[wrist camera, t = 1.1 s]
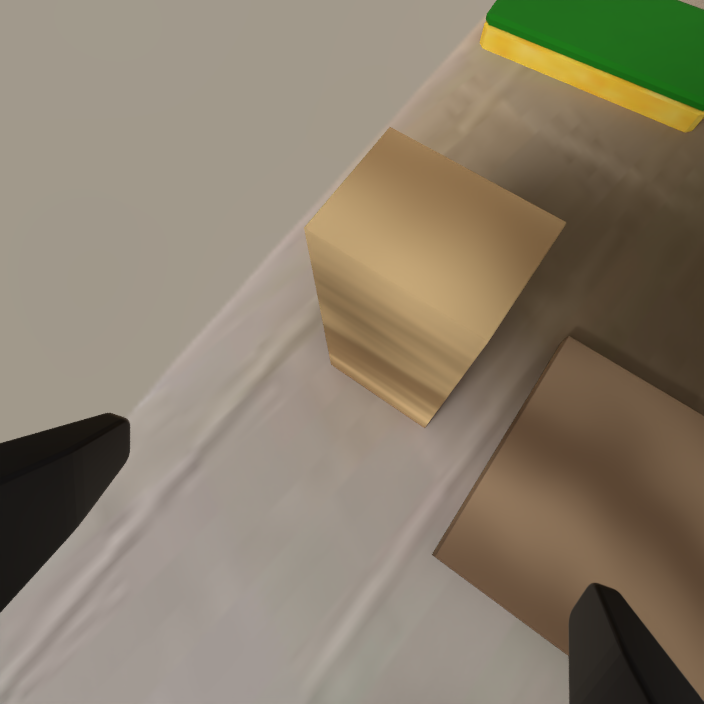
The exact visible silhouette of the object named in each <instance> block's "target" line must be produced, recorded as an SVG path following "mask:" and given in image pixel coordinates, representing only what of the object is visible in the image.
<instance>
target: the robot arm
mask: <svg viewBox="0 0 704 704" xmlns="http://www.w3.org/2000/svg"><path fill="white" fill-rule="evenodd" d="M129 453H130V423H129V421H128V419H126V418H124V417H121V416H118V415H115V414H113V413H105V414H101V415H98V416H95V417H91V418H87V419H84V420H81V421H77V422H73V423H70V424H66V425H63V426H59V427H56V428H52V429H49V430H45V431H42V432H38V433H35V434H32V435H28V436H24V437H21V438H17V439H14V440H10V441H6V442H3V443H0V612H1V611H2V610H3V609H4V608H5V607H6V606H7V605H8V604H9V603H10V601H11V600H12V599H13V598H14V597H15V596H16V595H17V594H18V593H19V592H20V590H21V589H22V588H23V587H24V586H25V585H26V584H27V583H28V582H29V580H30V579H31V578H32V577H33V576H34V575H35V574H36V573H37V572H38V571H39V569H40V568H41V567H42V566H43V565H44V564H45V563H46V562H47V561H48V560H49V558H50V557H51V556H52V555H53V554H54V553H55V552H56V551H57V550H58V549H59V547H60V546H61V545H62V544H63V543H64V542H65V541H66V540H67V539H68V537H69V536H70V535H71V534H72V533H73V532H74V531H75V529H76V528H77V527H78V526H79V525H80V523H81V522H82V521H83V519H84V518H85V517H86V516H87V514H88V513H89V512H90V510H91V509H92V508H93V506H94V505H95V503H96V502H97V501H98V499H99V498H100V497H101V495H102V494H103V493H104V491H105V490H106V489H107V487H108V486H109V485H110V483H111V482H112V481H113V479H114V478H115V477H116V475H117V474H118V472H119V471H120V470H121V468H122V467H123V466H124V464H125V463H126V461H127V459H128V457H129ZM568 629H569V704H704V700H703V699H702V698H701V697H700V695H699V694H698V693H697V691H696V690H695V689H694V688H693V686H692V685H691V684H690V682H689V681H688V680H687V679H686V677H685V676H684V675H683V673H682V672H681V671H680V670H679V668H678V667H677V666H676V664H675V663H674V662H673V661H672V659H671V658H670V657H669V655H668V654H667V653H666V652H665V650H664V649H663V648H662V646H661V645H660V644H659V643H658V641H657V640H656V639H655V637H654V636H653V635H652V634H651V632H650V631H649V630H648V628H647V627H646V626H645V624H644V623H643V622H642V621H641V619H640V618H639V617H638V615H637V614H636V613H635V612H634V610H633V609H632V608H631V606H630V605H629V604H628V603H627V601H626V600H625V599H624V597H623V596H622V595H621V594H620V593H619V592H618V591H617V590H615V589H613V588H610V587H608V586H605V585H602V584H599V583H591V584H589V585H588V587H587V588H586V589H585V591H584V592H583V594H582V595H581V597H580V598H579V600H578V601H577V603H576V604H575V606H574V607H573V609H572V611H571V613H570V616H569V624H568Z"/></svg>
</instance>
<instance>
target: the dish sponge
mask: <svg viewBox="0 0 704 704" xmlns="http://www.w3.org/2000/svg"><path fill="white" fill-rule="evenodd" d="M480 44H481V47H482V48H483V49H486V50H488V51H490V52H493V53H495V54H498V55H500V56H502V57H505V58H507V59H510V60H512V61H514V62H517V63H519V64H522V65H524V66H526V67H529V68H531V69H534V70H536V71H538V72H541V73H543V74H546V75H548V76H550V77H553V78H555V79H558V80H560V81H562V82H565V83H567V84H570V85H572V86H574V87H577V88H579V89H582V90H584V91H586V92H589V93H591V94H594V95H596V96H598V97H601V98H603V99H606V100H608V101H610V102H613V103H615V104H618V105H620V106H622V107H625V108H627V109H630V110H632V111H634V112H637V113H639V114H642V115H644V116H646V117H649V118H651V119H654V120H656V121H658V122H661V123H663V124H666V125H668V126H670V127H673V128H675V129H678V130H680V131H682V132H689V131H692V130H693V129H694V128H695V127H696V126H697V125H698V123H699V122H700V121H701V120H702V119H703V118H704V10H703V9H700V8H698V7H695V6H692V5H690V4H687V3H684V2H681V1H679V0H497V1H496V2H495V3H494V5H493V6H492V7H491V9H490V10H489V12H488V13H487V16H486V22H485V24H484V28H483V32H482V36H481V40H480Z"/></svg>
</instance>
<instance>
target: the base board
mask: <svg viewBox="0 0 704 704" xmlns="http://www.w3.org/2000/svg"><path fill="white" fill-rule="evenodd" d="M432 555H433V556H434V557H436V558H437V559H438V560H440V561H441V562H442V563H444V564H445V565H446V566H448V567H449V568H451V569H452V570H453V571H455V572H456V573H457V574H459V575H460V576H461V577H463V578H464V579H465V580H467V581H468V582H469V583H471V584H472V585H473V586H475V587H476V588H478V589H479V590H480V591H482V592H483V593H484V594H486V595H487V596H488V597H490V598H491V599H492V600H494V601H495V602H496V603H498V604H499V605H500V606H502V607H503V608H505V609H506V610H507V611H509V612H510V613H511V614H513V615H514V616H515V617H517V618H518V619H519V620H521V621H522V622H523V623H525V624H526V625H527V626H529V627H530V628H532V629H533V630H534V631H536V632H537V633H538V634H540V635H541V636H542V637H544V638H545V639H546V640H548V641H549V642H550V643H552V644H553V645H554V646H556V647H557V648H559V649H560V650H561V651H563V652H564V653H565V654H567V655H568V656H569V629H568V624H569V616H570V613H571V611H572V609H573V607H574V606H575V604H576V603H577V601H578V600H579V598H580V597H581V595H582V594H583V592H584V591H585V589H586V588H587V587H588V585H589V584H591V583H599V584H602V585H605V586H608V587H610V588H613V589H615V590H617V591H618V592H619V593H620V594H621V595H622V596H623V597H624V599H625V600H626V601H627V603H628V604H629V605H630V606H631V608H632V609H633V610H634V612H635V613H636V614H637V615H638V617H639V618H640V619H641V621H642V622H643V623H644V624H645V626H646V627H647V628H648V630H649V631H650V632H651V634H652V635H653V636H654V637H655V639H656V640H657V641H658V643H659V644H660V645H661V646H662V648H663V649H664V650H665V652H666V653H667V654H668V655H669V657H670V658H671V659H672V661H673V662H674V663H675V664H676V666H677V667H678V668H679V670H680V671H681V672H682V673H683V675H684V676H685V677H686V679H687V680H688V681H689V682H690V684H691V685H692V686H693V688H694V689H695V690H696V691H697V693H698V694H699V695H700V697H701V698H702V699H703V700H704V416H703V415H701V414H700V413H698V412H696V411H695V410H693V409H691V408H690V407H688V406H686V405H685V404H683V403H681V402H679V401H678V400H676V399H674V398H673V397H671V396H669V395H668V394H666V393H664V392H663V391H661V390H659V389H658V388H656V387H654V386H652V385H651V384H649V383H647V382H646V381H644V380H642V379H641V378H639V377H637V376H636V375H634V374H632V373H631V372H629V371H627V370H625V369H624V368H622V367H620V366H619V365H617V364H615V363H614V362H612V361H610V360H609V359H607V358H605V357H604V356H602V355H600V354H598V353H597V352H595V351H593V350H592V349H590V348H588V347H587V346H585V345H583V344H582V343H580V342H578V341H577V340H575V339H573V338H571V337H570V336H568V337H567V338H566V339H565V340H564V341H563V342H561V343H560V345H559V347H558V348H557V350H556V352H555V353H554V355H553V357H552V358H551V360H550V362H549V363H548V365H547V366H546V368H545V370H544V371H543V373H542V375H541V376H540V378H539V380H538V381H537V383H536V385H535V386H534V388H533V389H532V391H531V393H530V394H529V396H528V398H527V399H526V401H525V403H524V404H523V406H522V408H521V409H520V411H519V412H518V414H517V416H516V417H515V419H514V421H513V422H512V424H511V426H510V427H509V429H508V431H507V432H506V434H505V435H504V437H503V439H502V440H501V442H500V444H499V445H498V447H497V449H496V450H495V452H494V454H493V455H492V457H491V458H490V460H489V462H488V463H487V465H486V467H485V468H484V470H483V472H482V473H481V475H480V477H479V478H478V480H477V481H476V483H475V485H474V486H473V488H472V490H471V491H470V493H469V495H468V496H467V498H466V500H465V501H464V503H463V504H462V506H461V508H460V509H459V511H458V513H457V514H456V516H455V518H454V519H453V521H452V523H451V524H450V526H449V527H448V529H447V531H446V532H445V534H444V536H443V537H442V539H441V541H440V542H439V544H438V546H437V547H436V549H435V550H434V552H433V554H432Z"/></svg>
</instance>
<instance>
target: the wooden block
mask: <svg viewBox="0 0 704 704" xmlns="http://www.w3.org/2000/svg"><path fill="white" fill-rule="evenodd" d="M566 223H567V222H565V221H563V220H561V219H559V218H557V217H555V216H554V215H552V214H550V213H548V212H546V211H544V210H543V209H541V208H539V207H537V206H535V205H533V204H531V203H530V202H528V201H526V200H524V199H522V198H520V197H519V196H517V195H515V194H513V193H511V192H509V191H507V190H506V189H504V188H502V187H500V186H498V185H496V184H495V183H493V182H491V181H489V180H487V179H485V178H483V177H482V176H480V175H478V174H476V173H474V172H472V171H471V170H469V169H467V168H465V167H463V166H461V165H459V164H458V163H456V162H454V161H452V160H450V159H448V158H447V157H445V156H443V155H441V154H439V153H437V152H435V151H434V150H432V149H430V148H428V147H426V146H424V145H422V144H421V143H419V142H417V141H415V140H413V139H411V138H410V137H408V136H406V135H404V134H402V133H400V132H398V131H397V130H395V129H393V128H391V127H390V128H389V129H388V130H387V131H386V132H385V133H384V135H383V136H382V137H381V138H380V139H379V140H378V142H377V143H376V144H375V145H374V146H373V148H372V149H371V150H370V151H369V152H368V153H367V155H366V156H365V157H364V158H363V159H362V160H361V162H360V163H359V164H358V165H357V166H356V167H355V169H354V170H353V171H352V172H351V173H350V175H349V176H348V177H347V178H346V179H345V180H344V182H343V183H342V184H341V185H340V186H339V187H338V189H337V190H336V191H335V192H334V193H333V194H332V196H331V197H330V198H329V199H328V200H327V202H326V203H325V204H324V205H323V206H322V207H321V209H320V210H319V211H318V212H317V213H316V214H315V216H314V217H313V218H312V219H311V220H310V222H309V223H308V224H307V225H306V226H305V227H304V229H305V234H306V240H307V245H308V250H309V255H310V260H311V265H312V270H313V275H314V280H315V285H316V290H317V295H318V300H319V305H320V310H321V315H322V320H323V325H324V331H325V336H326V341H327V346H328V351H329V356H330V361H331V365H333V366H334V367H336V368H337V369H339V370H340V371H342V372H343V373H344V374H346V375H347V376H349V377H350V378H352V379H353V380H355V381H356V382H358V383H359V384H361V385H362V386H364V387H365V388H367V389H368V390H369V391H371V392H372V393H374V394H375V395H377V396H378V397H380V398H381V399H383V400H384V401H386V402H387V403H389V404H390V405H391V406H393V407H394V408H396V409H397V410H399V411H400V412H402V413H403V414H405V415H406V416H408V417H409V418H411V419H412V420H414V421H415V422H416V423H418V424H419V425H421V426H422V427H424V428H425V427H426V426H427V424H428V423H429V421H430V420H431V419H432V417H433V416H434V415H435V413H436V412H437V411H438V409H439V408H440V407H441V405H442V404H443V402H444V401H445V400H446V398H447V397H448V396H449V394H450V393H451V392H452V390H453V389H454V388H455V386H456V385H457V383H458V382H459V381H460V379H461V378H462V377H463V375H464V374H465V373H466V371H467V370H468V369H469V367H470V366H471V365H472V363H473V362H474V360H475V359H476V358H477V356H478V355H479V354H480V352H481V351H482V350H483V348H484V347H485V346H486V344H487V343H488V341H489V340H490V338H491V337H492V335H493V334H494V332H495V331H496V329H497V328H498V326H499V325H500V323H501V322H502V320H503V319H504V317H505V316H506V314H507V313H508V311H509V310H510V308H511V307H512V305H513V303H514V302H515V300H516V299H517V297H518V296H519V294H520V293H521V291H522V290H523V288H524V287H525V285H526V284H527V282H528V281H529V279H530V278H531V276H532V275H533V273H534V272H535V270H536V269H537V267H538V266H539V264H540V263H541V261H542V259H543V258H544V256H545V255H546V253H547V252H548V250H549V249H550V247H551V246H552V244H553V243H554V241H555V240H556V238H557V237H558V235H559V234H560V232H561V231H562V229H563V228H564V226H565V225H566Z"/></svg>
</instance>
